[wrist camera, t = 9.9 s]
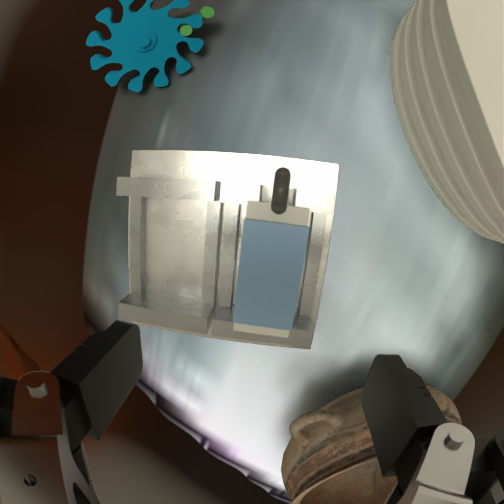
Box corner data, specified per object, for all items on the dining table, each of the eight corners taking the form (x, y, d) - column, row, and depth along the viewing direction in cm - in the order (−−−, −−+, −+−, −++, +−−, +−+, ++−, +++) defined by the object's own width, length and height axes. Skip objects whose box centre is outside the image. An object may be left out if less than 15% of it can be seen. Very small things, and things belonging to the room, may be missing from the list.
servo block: (256, 167, 22) (250, 162, 17) (308, 174, 22) (316, 171, 17) (240, 307, 25) (231, 336, 20) (287, 313, 24) (288, 344, 19)
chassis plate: (138, 151, 23) (112, 146, 19) (335, 165, 22) (349, 161, 18) (136, 317, 27) (115, 339, 23) (309, 342, 26) (313, 370, 22)
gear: (111, 112, 21) (66, 22, 13) (119, 89, 24) (85, 14, 16) (230, 67, 21) (202, -34, 13) (219, 52, 24) (195, -30, 16)
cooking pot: (459, 410, 27) (494, 469, 15) (350, 480, 31) (360, 543, 19) (372, 295, 25) (430, 372, 13) (228, 403, 29) (206, 492, 17)
